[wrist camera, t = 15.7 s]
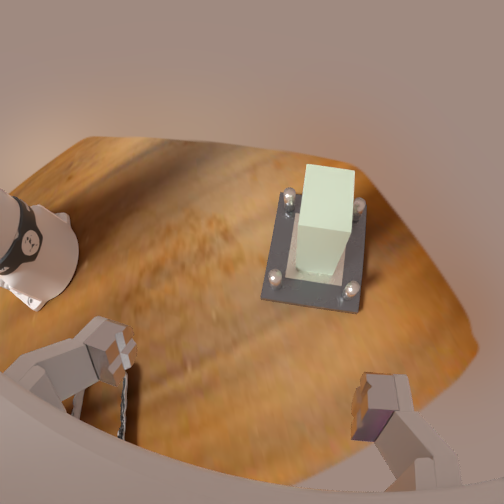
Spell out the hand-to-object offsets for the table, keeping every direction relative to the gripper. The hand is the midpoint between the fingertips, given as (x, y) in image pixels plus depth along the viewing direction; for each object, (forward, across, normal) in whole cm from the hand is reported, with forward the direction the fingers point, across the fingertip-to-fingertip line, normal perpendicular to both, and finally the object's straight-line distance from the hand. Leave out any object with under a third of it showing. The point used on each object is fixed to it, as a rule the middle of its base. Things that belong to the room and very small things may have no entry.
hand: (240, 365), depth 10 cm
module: (+33, -3, +10) cm, 34 cm away
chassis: (+34, -3, +11) cm, 36 cm away
